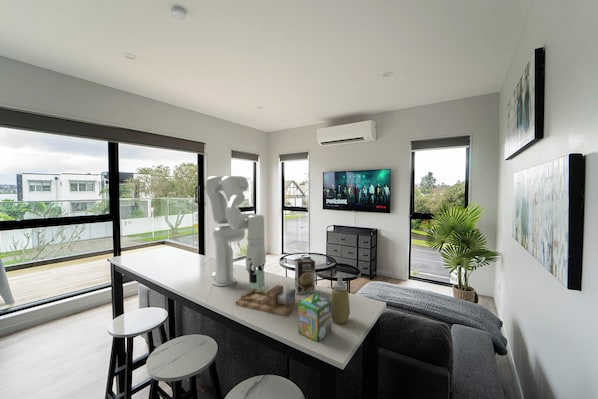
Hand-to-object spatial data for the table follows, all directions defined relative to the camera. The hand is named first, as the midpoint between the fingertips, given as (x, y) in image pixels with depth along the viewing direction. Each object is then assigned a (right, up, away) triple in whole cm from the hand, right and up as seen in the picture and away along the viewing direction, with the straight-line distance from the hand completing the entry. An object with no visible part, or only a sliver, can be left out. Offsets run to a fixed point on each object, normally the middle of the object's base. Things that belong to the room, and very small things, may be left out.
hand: (256, 280), depth 118 cm
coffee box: (+23, -10, +12) cm, 28 cm away
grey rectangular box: (+12, -8, -5) cm, 15 cm away
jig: (+6, -10, -2) cm, 12 cm away
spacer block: (0, -3, 0) cm, 3 cm away
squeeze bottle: (+36, -11, -17) cm, 41 cm away
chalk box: (+25, -11, -25) cm, 38 cm away
